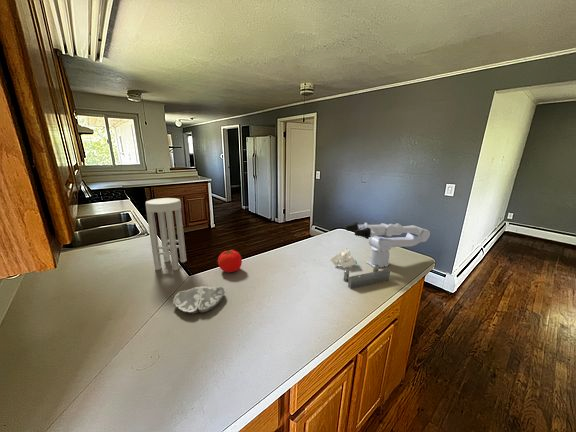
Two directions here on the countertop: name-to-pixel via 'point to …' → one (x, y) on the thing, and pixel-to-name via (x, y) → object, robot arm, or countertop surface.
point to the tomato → (230, 261)
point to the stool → (167, 207)
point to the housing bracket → (366, 277)
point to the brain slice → (198, 299)
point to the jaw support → (346, 257)
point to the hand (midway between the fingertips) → (350, 230)
